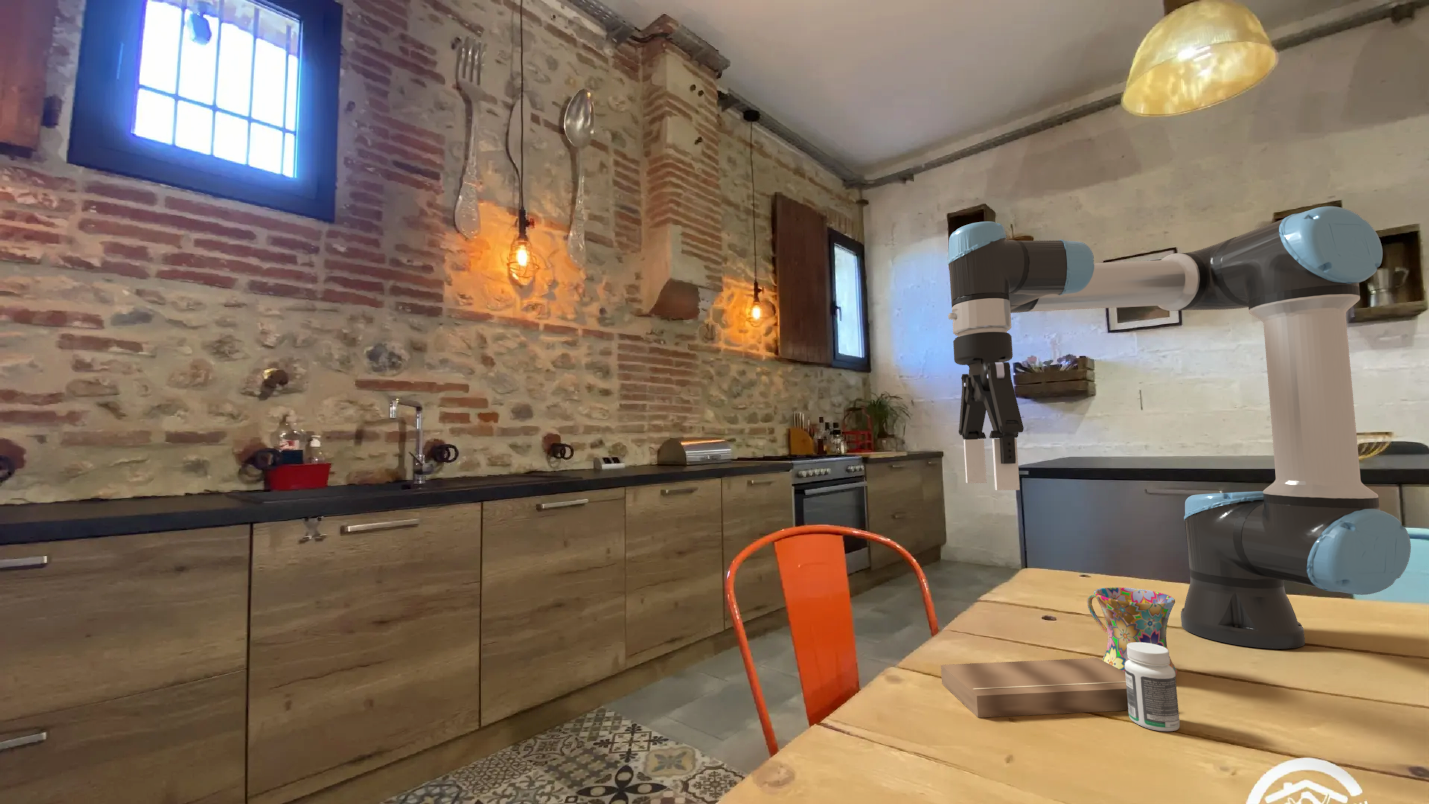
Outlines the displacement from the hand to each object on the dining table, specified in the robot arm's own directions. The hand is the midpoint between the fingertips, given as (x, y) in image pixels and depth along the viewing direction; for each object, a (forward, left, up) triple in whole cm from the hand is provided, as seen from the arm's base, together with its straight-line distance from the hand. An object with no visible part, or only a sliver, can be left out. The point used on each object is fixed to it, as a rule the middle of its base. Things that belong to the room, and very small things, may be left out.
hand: (990, 486), depth 82 cm
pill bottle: (-11, +13, -27) cm, 31 cm away
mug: (-20, -3, -27) cm, 33 cm away
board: (-3, +4, -26) cm, 27 cm away
